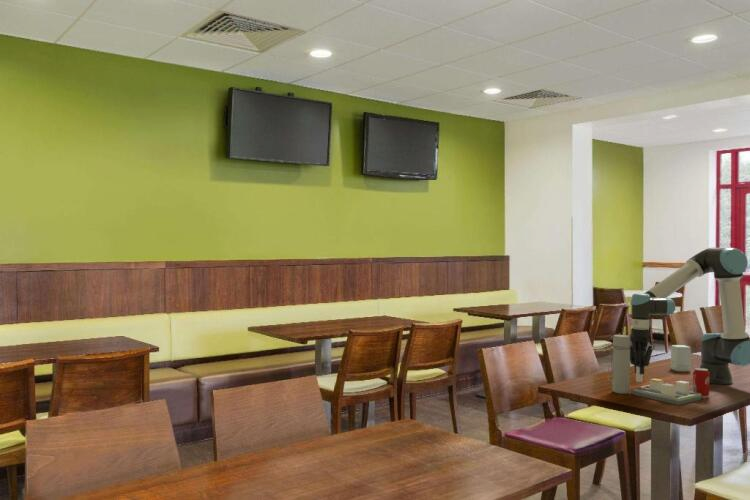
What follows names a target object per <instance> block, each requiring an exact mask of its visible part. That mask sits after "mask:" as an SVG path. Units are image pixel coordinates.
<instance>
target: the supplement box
mask: <svg viewBox="0 0 750 500" xmlns="http://www.w3.org/2000/svg"><path fill="white" fill-rule="evenodd" d="M691 348H692V347H691V346H687V345H684V344H672V345H671V344H670V369H671V370H673V371H676V372H691V370H692V369H691V365H692V364H691V363H692V361H691V358H692V357H691V356H692V351H691V350H692V349H691Z"/></svg>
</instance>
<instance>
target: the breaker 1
mask: <svg viewBox="0 0 750 500" xmlns="http://www.w3.org/2000/svg"><path fill="white" fill-rule="evenodd" d="M675 388H676V384H673V383H672V384H671V383H663V384H661V394H662V395H666V396H671V397H675Z"/></svg>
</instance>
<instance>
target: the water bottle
mask: <svg viewBox="0 0 750 500" xmlns="http://www.w3.org/2000/svg"><path fill="white" fill-rule="evenodd" d="M630 341H631V338H630V336H629V335H626V334H614V335H613V339H612V346H610V353H609V354H610V356H609V358H610V361H609V362H608V365H610V362H611V370H610V368H608V370H607V373H609V371H612V372H611V378H609V377H607V379H608V381H612V382H611V383H612V384H611V385H612V386H611V388H612V389H611V391H613V393H616V394H619V395H620V394H621V395H626V394H629V393H630V390H631V388H630V377H631V376H630V374H631V373H630V371H631V362H630V349H629V348H630Z"/></svg>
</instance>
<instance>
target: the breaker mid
mask: <svg viewBox="0 0 750 500" xmlns="http://www.w3.org/2000/svg"><path fill="white" fill-rule="evenodd" d="M661 384H664V379H660V378H650V379H649V385H650V389H653V390H658V391H661Z"/></svg>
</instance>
